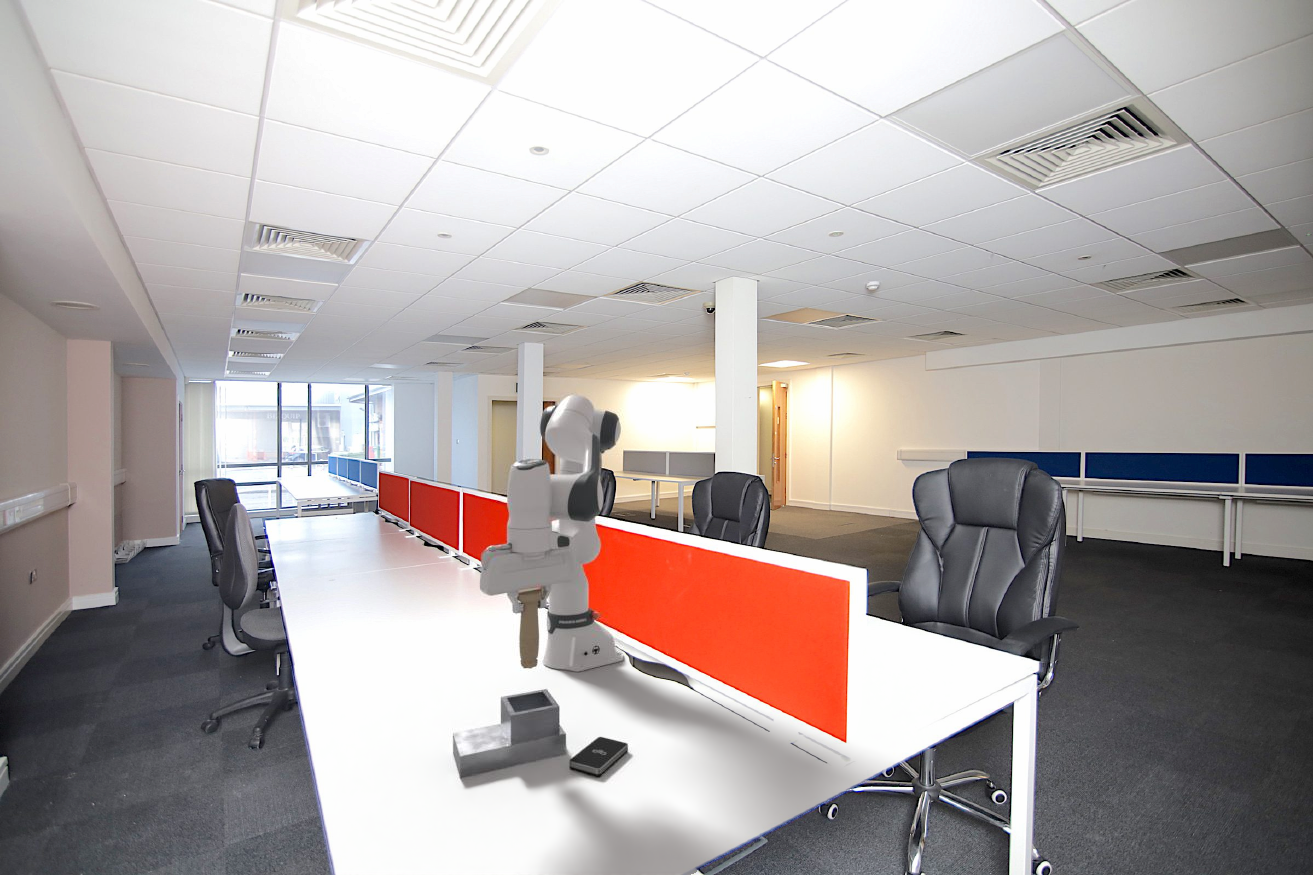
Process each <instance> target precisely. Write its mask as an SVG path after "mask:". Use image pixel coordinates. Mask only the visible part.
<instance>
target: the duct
mask: <svg viewBox="0 0 1313 875" xmlns="http://www.w3.org/2000/svg"><path fill="white" fill-rule="evenodd" d="M560 717H561V716H560V705H559V704H558V702H557V701H556V700H555V698H554V697H553V696H552V694H551V693H550V692H549V690H548V688H545V689H538V690H533V691H527V692H521V693H517V694H515V693H514V694H510V695H504V696H500V723H497V724H491V725H488V726H483V727H477V728H471V729H466V730H462V731H456V732H452V754H453V758H454V762H455V765H456V770H457V772H458V776H459V779H463V778H467V777H472V776H476V775H480V774H481V775H482V774H485V773H486V774H487V773H489V772H490V773H491V772H494V771H499V770H503V769H507V768H511V767H516V766H521V765H525V764H530V763H533V762H539V761H541V760H547V759H551V758H555V757H560V756H565V755H567V733H566V732H565V730H564V729H563V727H562V726H561V724H560Z"/></svg>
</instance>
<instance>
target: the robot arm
mask: <svg viewBox="0 0 1313 875" xmlns="http://www.w3.org/2000/svg"><path fill="white" fill-rule="evenodd" d="M621 427H622V426H621V422H620V418H619V417H618V414H617V413H615V412H612V411H609V410H605V411H604V410H601V409H597V408H595V407H594V404H593V402H591V401H590V399H589V398H587V397H586V396H584V395H581V394H571V395H568V396H566V397H564V398H563V399H562V401H560V402H559V403H558V404H557V405H554V404H553V405H549V406H548V407H546V408H545V409H544V410H543V412H542V414H541V416H540V420H539V431H540V432H539V433H540V436H541V437H542V439H543V440H544V441H545V443H546V445H547V448H549V450H550V451H551V453H553V455H555V456H557V457H558V458H559V459H560V464H559V468H558V469H559V470H558V474H553V473H552V474H551V470H550V465H549V463H548V461H546V460H543V459H538V458H528V459H522V460H517V461H515V462H514V463H512V464H511V465H510V470H509V474H508V480H507V481H508V482H507V491H506V492H507V494H506V495H507V497H506V501H507V502H506V505H507V506H506V507H507V510H508V521H507V524H506V532H507V533H506V541H507V542H506V543H502V544H498V545H492V544H491V545H490V546H488V547H487V548H486V549H484V550H483V552H482V553H481V556H480V564H481V570H480V578H479V590H480V592H482V593H483V594H485V595H487V596H497V595H502V594H503V595H504V594H506V596H507V598H508V599H509V601H510V604H512V606H511V607H512V610H511V611H512V612H513V613H514V614H516V615H517V614H521V612H523V603H521V602H519V601H518V600H517V598H516V596H519V591H520V590H525V589H530V588H541V589H542V599H541V600H540V601H538V610H539V609H540V610H541V609H545V608H547V601H548V610H547V614H546V630H547V639H546V647H545V652H544V656H543V659H542V663H543V664H544V666H546V667H548V668H551V669H556V670H567V671H572V672H575V673H576V672H578V673H579V672H583V671H586V670H591V669H594V668H599V667H603V666H606V665H610V664H614V663H618V662H622V661H623V660H624V652H623V651H622V650H621V649H620V648H618V647H617V646H616V643H615V639H614V638H615V637H614V636H613V634H612V633H611V632H610V631H609V630H607V629H606V628H605V627H603V625H601V624H600V623H598V622H597V621H598V620H600V618H601V614H600V612H598V611H596V610H594V609H591V608H590V607H589V581H588V578H587V576H586V573H585V570H584V567H583V565H586V564H589V563H591V562H594V560H595V559H597V557H598V556H599V554H600V551H601V547H602V543H601V538H600V537H599V535H598V531H597V527H596V526H597V525H596V517H597V516H599V515H600V513H601V512H602V509H603V505H604V492H603V491H604V490H603V487H602V486H603V485H602V481H603V480H602V475H603V473H602V472H603V471H602V470H603V468H602V464H603V462H602V454H605V452H606V451H609V450H612V449H613V447H615V446H616V445H617V442H618V441H619V439H620V437H621V432H622V431H621V430H622V428H621ZM547 599H548V600H547ZM595 620H596V621H595Z"/></svg>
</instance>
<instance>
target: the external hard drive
mask: <svg viewBox="0 0 1313 875" xmlns="http://www.w3.org/2000/svg"><path fill="white" fill-rule="evenodd" d="M628 753H629V744H628V743H627V742H624V741H619V740H616V739H612V738H608V737H604V736H598V737H596V738H595V739H594V740H593V741H591V742H590V743H589V744H587V745H586V746H585V747H584V748H582V749H581V750H580V751H579V752H578V753H576V754H575V755H574V756H572V757H571V758H570V759H569V763H568V764H569V765H568V767H569V770H570V771H572V772H576V773H579V774H584V775H586V776H590V777H593V778H596V779H597V778H602V776H603V775H605V773H607V772H608V771H609V770H610V769H611V768H612V767H613V766H615V764H617V763H618V762H619V761H620V760H621V759H622V758H623V757H624V756H625V755H627V754H628Z"/></svg>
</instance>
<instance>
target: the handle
mask: <svg viewBox="0 0 1313 875" xmlns="http://www.w3.org/2000/svg"><path fill="white" fill-rule="evenodd" d="M516 598H517V600H518V602H520V603H523V612H521V613H520V622H519V624H520V625H519V635H518V638H519V640H518V641H519V646H518V647H519V656H520V657H519V658H520V666H521V667H522V668H523V669H529V670H530V669H533V668H536V667H537V666H538V657H539V649H540V648H539V646H540V628H539V626H540V625H539V608H538V601H540V600H541V599H542V589H541V588H540V587H536V588H530V589H525V590H520V591H519V596H516Z"/></svg>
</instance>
